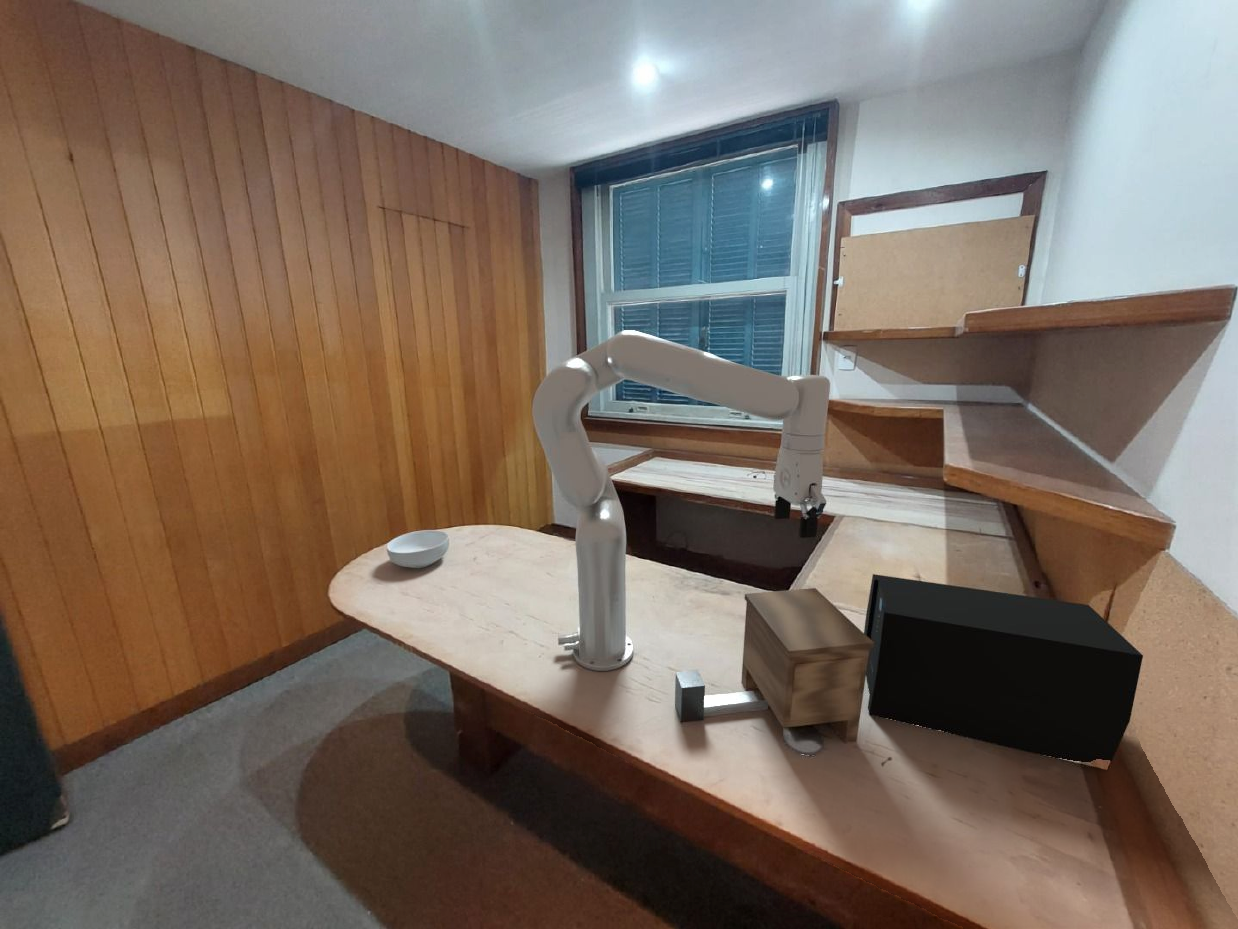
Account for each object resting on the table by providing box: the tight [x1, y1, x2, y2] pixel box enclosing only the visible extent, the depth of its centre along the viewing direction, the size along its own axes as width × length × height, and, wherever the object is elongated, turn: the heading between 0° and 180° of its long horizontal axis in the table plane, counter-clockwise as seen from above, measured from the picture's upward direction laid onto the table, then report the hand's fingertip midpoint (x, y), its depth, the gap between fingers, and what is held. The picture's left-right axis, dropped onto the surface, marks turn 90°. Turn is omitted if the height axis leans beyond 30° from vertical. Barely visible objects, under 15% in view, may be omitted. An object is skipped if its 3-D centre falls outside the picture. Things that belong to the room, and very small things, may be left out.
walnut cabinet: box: [740, 587, 874, 744], centre depth 81 cm, size 14×17×18 cm
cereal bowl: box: [385, 529, 450, 569], centre depth 140 cm, size 17×17×7 cm
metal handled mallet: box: [674, 669, 769, 724], centre depth 83 cm, size 16×4×7 cm, turn 98°
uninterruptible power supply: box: [863, 573, 1144, 762], centre depth 80 cm, size 16×34×20 cm, turn 69°
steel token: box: [782, 724, 824, 757], centre depth 77 cm, size 6×6×2 cm
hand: (793, 527), depth 94 cm, fingers open, 9 cm apart
